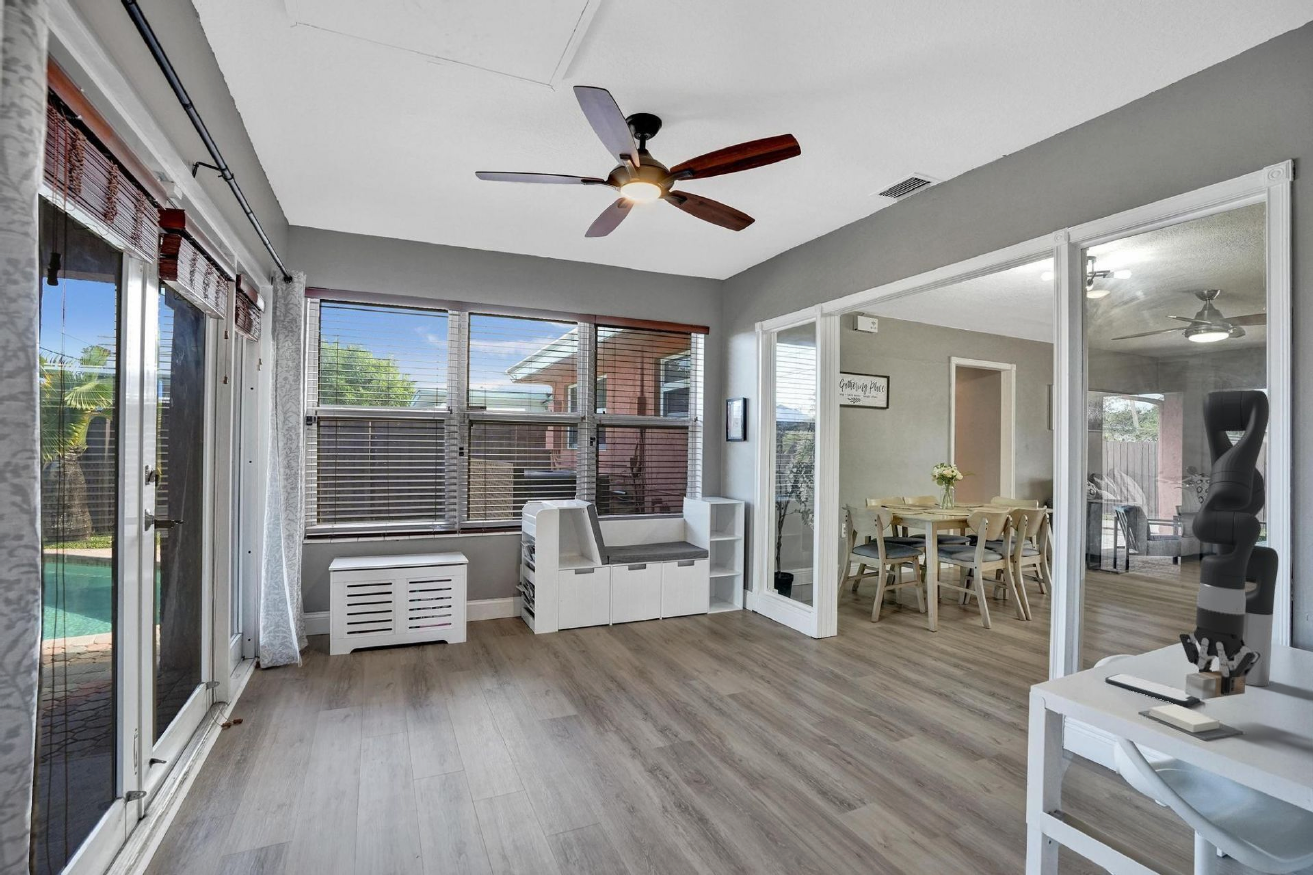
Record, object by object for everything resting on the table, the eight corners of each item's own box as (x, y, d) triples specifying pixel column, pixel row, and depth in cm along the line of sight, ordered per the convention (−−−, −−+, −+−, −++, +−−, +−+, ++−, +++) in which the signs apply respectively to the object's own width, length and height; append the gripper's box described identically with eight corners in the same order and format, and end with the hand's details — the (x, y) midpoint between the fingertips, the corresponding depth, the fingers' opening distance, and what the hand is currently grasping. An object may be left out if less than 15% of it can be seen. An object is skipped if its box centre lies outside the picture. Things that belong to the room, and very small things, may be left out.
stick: (1227, 687, 139) (1229, 669, 139) (1244, 693, 136) (1245, 674, 136) (1185, 693, 134) (1186, 674, 134) (1201, 699, 131) (1203, 679, 131)
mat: (1175, 708, 140) (1176, 706, 140) (1242, 733, 129) (1243, 731, 129) (1138, 713, 136) (1138, 711, 136) (1204, 740, 125) (1204, 738, 125)
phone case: (1102, 684, 154) (1185, 709, 140) (1103, 677, 154) (1186, 702, 140) (1120, 679, 159) (1201, 702, 145) (1120, 672, 159) (1202, 695, 145)
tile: (1175, 703, 137) (1149, 707, 134) (1219, 720, 129) (1193, 724, 126) (1174, 712, 137) (1149, 715, 134) (1218, 729, 129) (1193, 733, 126)
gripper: (1273, 616, 130) (1267, 702, 130) (1194, 597, 143) (1189, 676, 143) (1250, 618, 127) (1244, 706, 127) (1171, 599, 140) (1166, 679, 140)
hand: (1215, 690), depth 135 cm, fingers closed on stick, 3 cm apart
